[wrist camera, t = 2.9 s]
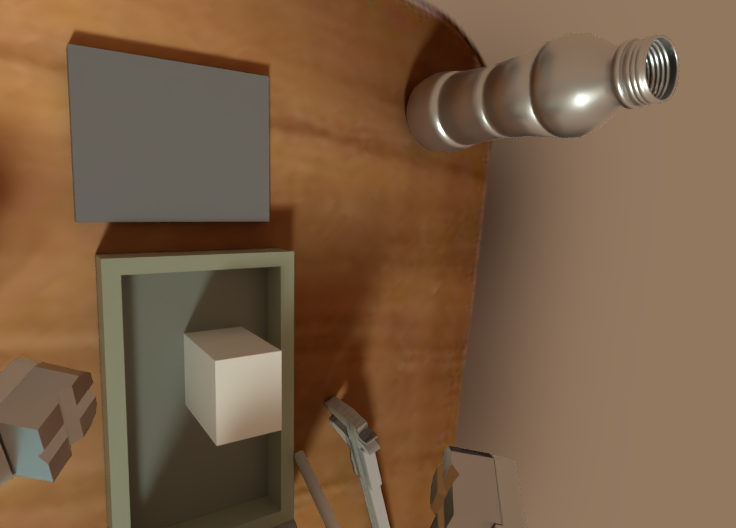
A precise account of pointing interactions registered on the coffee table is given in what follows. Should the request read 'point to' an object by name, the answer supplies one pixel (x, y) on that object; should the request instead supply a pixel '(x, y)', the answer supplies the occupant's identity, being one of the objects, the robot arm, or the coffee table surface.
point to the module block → (233, 383)
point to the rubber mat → (166, 140)
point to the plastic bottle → (543, 91)
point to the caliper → (361, 456)
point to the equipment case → (167, 391)
